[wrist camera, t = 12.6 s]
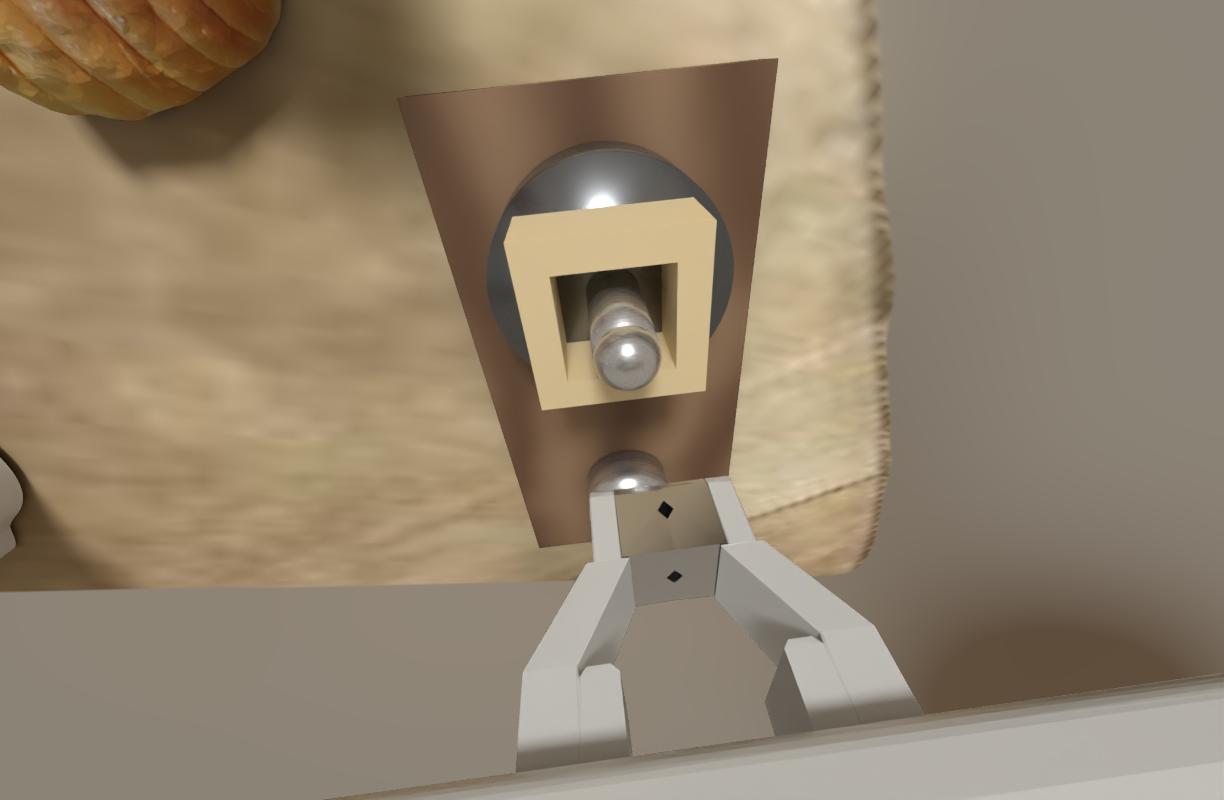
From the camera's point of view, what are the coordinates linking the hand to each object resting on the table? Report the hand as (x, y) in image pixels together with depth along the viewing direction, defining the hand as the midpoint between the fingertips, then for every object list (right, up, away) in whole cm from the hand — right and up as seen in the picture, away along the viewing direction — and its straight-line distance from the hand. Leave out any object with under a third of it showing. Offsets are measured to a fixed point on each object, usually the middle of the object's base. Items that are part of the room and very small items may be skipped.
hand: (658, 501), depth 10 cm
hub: (-1, +8, +11) cm, 14 cm away
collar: (-1, +7, +8) cm, 11 cm away
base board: (-1, +4, +16) cm, 17 cm away
